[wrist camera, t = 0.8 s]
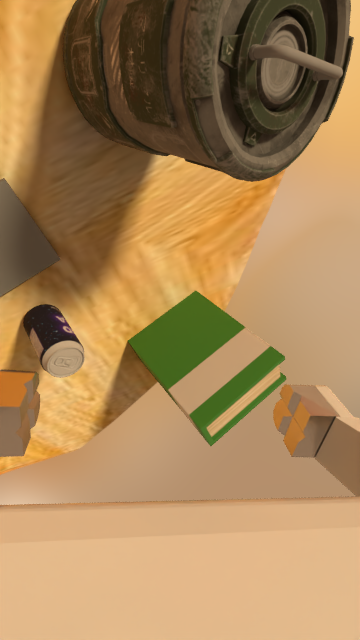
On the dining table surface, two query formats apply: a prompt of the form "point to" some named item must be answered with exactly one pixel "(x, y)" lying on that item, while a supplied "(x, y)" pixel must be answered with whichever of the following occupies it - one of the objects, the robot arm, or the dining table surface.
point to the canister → (209, 76)
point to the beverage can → (54, 341)
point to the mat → (20, 242)
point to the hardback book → (208, 364)
